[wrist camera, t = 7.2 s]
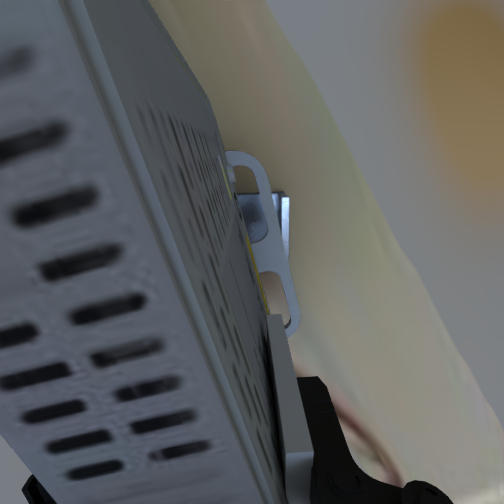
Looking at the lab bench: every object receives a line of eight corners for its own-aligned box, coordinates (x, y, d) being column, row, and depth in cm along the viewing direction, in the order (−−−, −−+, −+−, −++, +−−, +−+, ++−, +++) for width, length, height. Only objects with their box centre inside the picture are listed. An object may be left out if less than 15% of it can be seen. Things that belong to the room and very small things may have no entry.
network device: (140, 128, 21) (-759, -128, 2) (248, 96, 20) (279, -612, 2) (232, 375, 29) (209, 764, 11) (310, 357, 29) (433, 734, 10)
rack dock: (183, 196, 34) (175, 202, 30) (283, 191, 34) (289, 197, 30) (193, 267, 37) (187, 282, 33) (283, 263, 38) (288, 277, 33)
